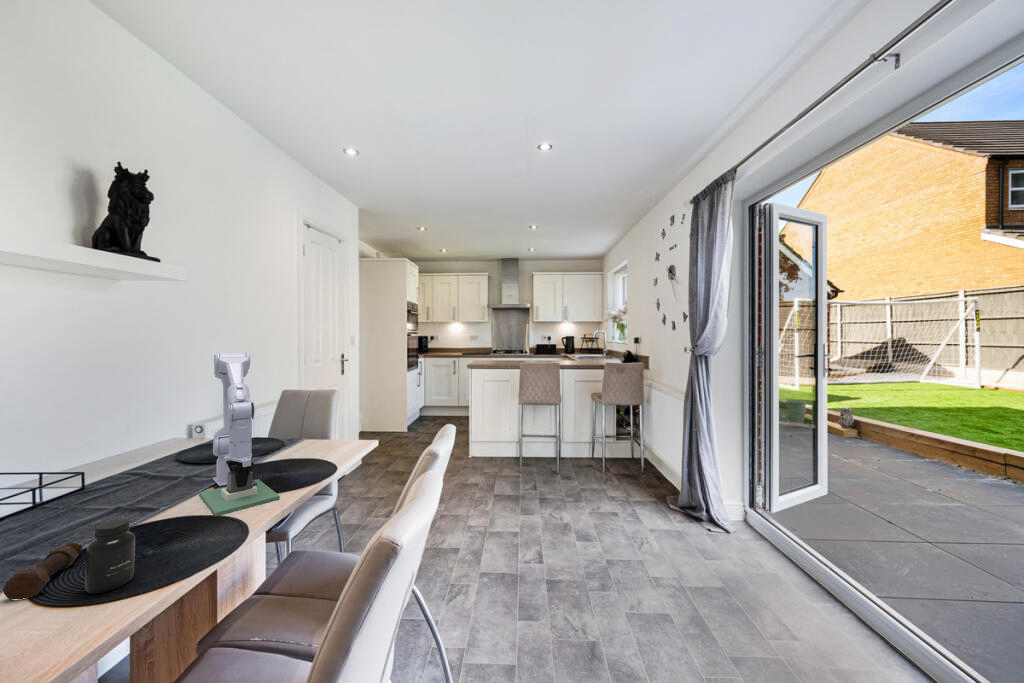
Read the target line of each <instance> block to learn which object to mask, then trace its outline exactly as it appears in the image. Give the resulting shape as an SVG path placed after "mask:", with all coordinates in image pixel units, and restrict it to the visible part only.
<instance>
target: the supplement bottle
mask: <svg viewBox="0 0 1024 683" xmlns="http://www.w3.org/2000/svg"><path fill="white" fill-rule="evenodd" d="M93 538H94V539H93V540H92V541H90V542H89V544H88V545H87V547H86V549H85V550H86V552H85V572H84V577H85V578H84V589H85V592H87V593H89V594H102V593H107V592H110V591H113V590H116V589H118V588H120V587H123V586H124V585H126V584H128V583H129V582H130V581H132V579H133V577H134V575H135V574H134V573H135V558H136V556H135V555H136V552H135V551H136V535H135V534H134V533H133V532H131V531H130V520H129V519H127V518H119V519H118V518H117V519H112V520H108V521H103V522H102V523H99V524H98V525H96V526H95V527H94V534H93Z"/></svg>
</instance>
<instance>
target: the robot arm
mask: <svg viewBox="0 0 1024 683" xmlns="http://www.w3.org/2000/svg"><path fill="white" fill-rule="evenodd" d="M250 367H251V355H250V353H249V352H247V351H246V352H216V353H215V354H214V357H213V370H214V371H213V372H214V377H215V378H217V379H219V380H221V381H220V382H221V383H222V393H223V396H222V398H223V399H222V403H223V404H222V405H223V425H222V427H221V428H220V429H218V430H217V431H215V432H214V435H213V440H212V453H213V456H215V457H217V459H216V474H215V476H214V477H212V480H213V481H214V482H215V483H216V484H217V486H219V487H222V486H223V487H224V486H227V472H232V471H234V473H235V478H236V484H237V487H238V488H239V487H244V486H246V484H247V481H248V477H249V474H250V471H252V469H253V468H254V466H255V462H252V457H253V453H252V437H253V436H252V434H253V432H252V430H253V420H254V419H255V414H256V413H255V412H256V411H255V410H256V409H255V403H254V400H253V398H251V395H250V389H249V386H248V385H247V384H245V383H244V380H245V379H244V378H245V377H247V375H248V373H249V370H250Z"/></svg>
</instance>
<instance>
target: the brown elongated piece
mask: <svg viewBox="0 0 1024 683" xmlns="http://www.w3.org/2000/svg"><path fill="white" fill-rule="evenodd" d="M83 549H84V548H83V545H82V544H78V543H75V542H73V543H70V542H69V543H68V544H66V545H65V546H60V547H55V548H53V549H52V550H50V552H49V553H48V554H47V555H46V556H45V557H44V558H43V561H41V562H40V563H39V564H38V565H37V566H35V567H33V568H26V569H21V570H18V571H16V572H15V573H14V574H13V575H11V577H10V578H9V579H8V580H7V581H6V583H5V584H4V585H3V588H2V592H3V594H4V596H5V598H7V599H9V600H10V599H23V598H27V597H30V596H34V595H37V594H38V593H39V594H40V593H41V592H42V591H43V589H44V588H45V587H46V586H47V584H48V583H49V582H50V580H51V577H52V576H53V575H54V574H56V573H57V572H59V571H61V570H60V569H64V568H67V569H68V568H70V567H71V566H72V565H73V563H74V562H76V560H77V558H78V557H79V555H80V554H81V553H82V552H83ZM70 565H71V566H70ZM69 566H70V567H69ZM58 570H59V571H58ZM64 570H65V569H64ZM39 594H38V595H39ZM38 595H37V596H38ZM23 600H24V599H23Z"/></svg>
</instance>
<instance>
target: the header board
mask: <svg viewBox="0 0 1024 683" xmlns="http://www.w3.org/2000/svg"><path fill="white" fill-rule="evenodd" d="M198 497H200V499H201V501H203V503H204V505H206V507H207V508H208V510H209V511H210V512H211V513H212V514H213V516H214V517H219V516H222V515H226V514H229V513H233V512H237V511H241V510H244V509H248V508H252V507H255V506H260V505H265V504H267V503H270V502H274V501H277V500H278V501H279V500H280V495H279V494H278V493H277V492H275V491H274V490H273V489H272V488H270V487H269V486H267V484H265V483H264V482H263V481H262V480H261V479H259V478H258V479H253V482H252V489H247V490H243V491H239V492H235V493H231V494H229V493H228V492H227V485H225V486H223V487H222V486H221V487H217V488H215V489H210V490H204V491H200V492H199V493H198Z"/></svg>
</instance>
